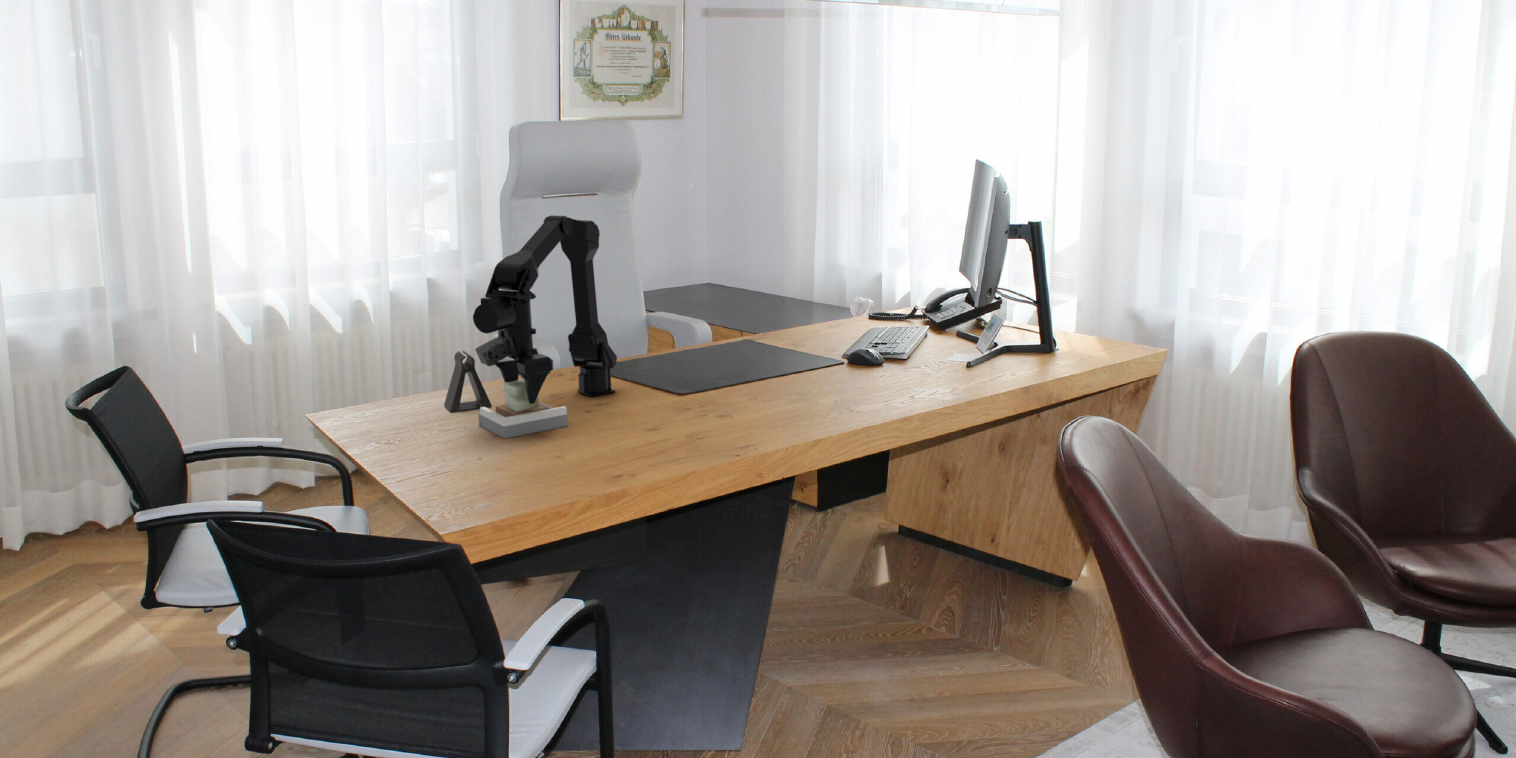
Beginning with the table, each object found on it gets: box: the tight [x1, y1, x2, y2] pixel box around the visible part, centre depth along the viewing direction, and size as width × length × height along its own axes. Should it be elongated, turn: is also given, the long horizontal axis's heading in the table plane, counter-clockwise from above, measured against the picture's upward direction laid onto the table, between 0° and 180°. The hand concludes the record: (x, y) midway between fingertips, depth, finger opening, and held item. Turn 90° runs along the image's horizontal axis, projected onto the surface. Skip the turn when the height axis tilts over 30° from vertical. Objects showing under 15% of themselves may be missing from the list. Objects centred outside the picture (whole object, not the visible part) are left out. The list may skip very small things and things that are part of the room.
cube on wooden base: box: [495, 378, 549, 417], centre depth 224 cm, size 8×8×6 cm
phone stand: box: [443, 350, 493, 414], centre depth 238 cm, size 9×6×12 cm, turn 118°
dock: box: [477, 401, 569, 439], centre depth 225 cm, size 14×12×4 cm
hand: (521, 398), depth 224 cm, fingers open, 9 cm apart
